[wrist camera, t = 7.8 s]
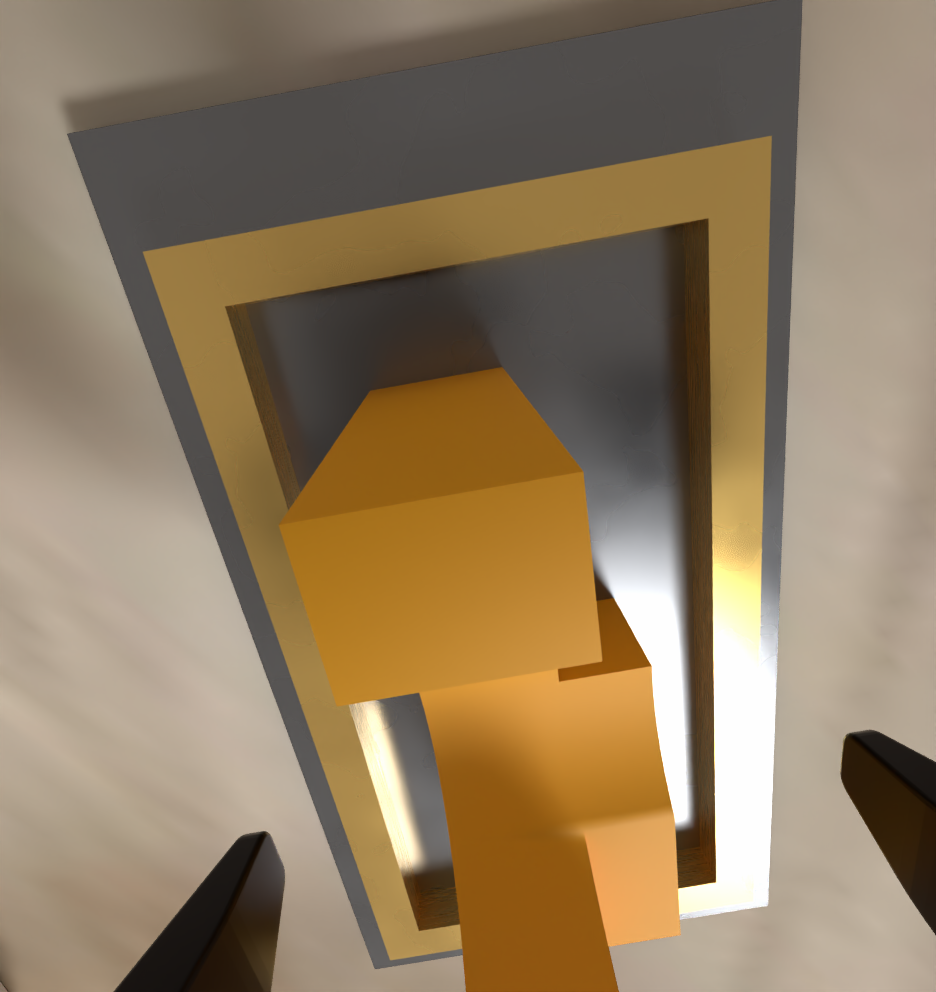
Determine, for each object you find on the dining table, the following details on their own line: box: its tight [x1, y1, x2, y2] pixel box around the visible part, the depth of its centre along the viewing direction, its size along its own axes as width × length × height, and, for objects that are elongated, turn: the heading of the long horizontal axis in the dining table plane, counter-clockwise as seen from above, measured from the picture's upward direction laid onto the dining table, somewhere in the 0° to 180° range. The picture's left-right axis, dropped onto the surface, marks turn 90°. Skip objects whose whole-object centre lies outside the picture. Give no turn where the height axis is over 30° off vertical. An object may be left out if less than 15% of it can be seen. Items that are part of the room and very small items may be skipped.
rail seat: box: [67, 0, 802, 969], centre depth 13 cm, size 12×22×2 cm, turn 10°
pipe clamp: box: [279, 367, 681, 992], centre depth 10 cm, size 12×4×6 cm, turn 10°
